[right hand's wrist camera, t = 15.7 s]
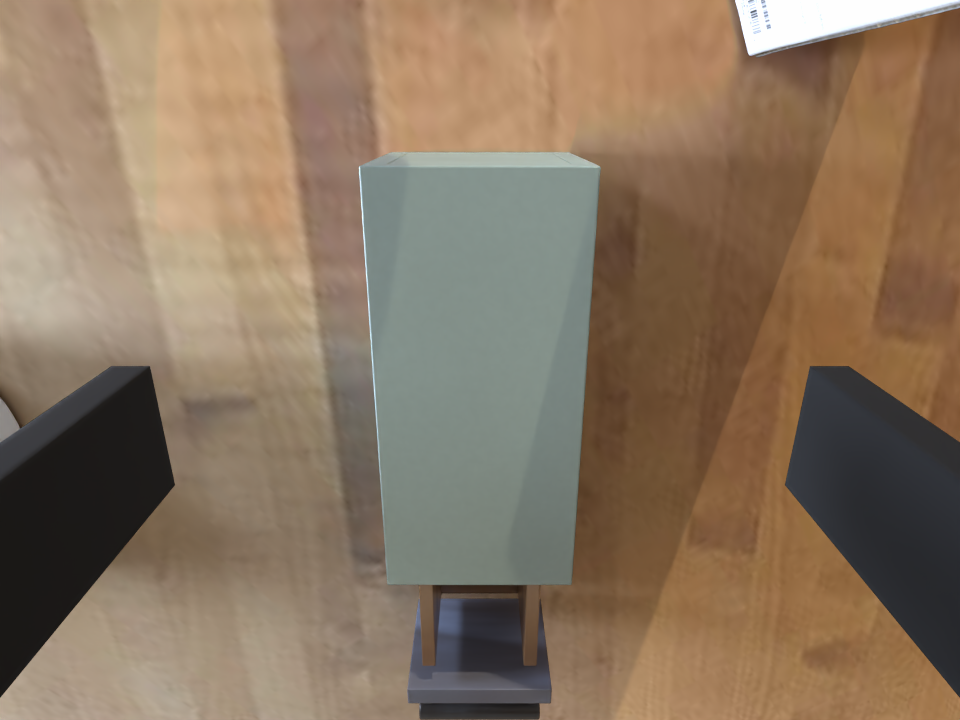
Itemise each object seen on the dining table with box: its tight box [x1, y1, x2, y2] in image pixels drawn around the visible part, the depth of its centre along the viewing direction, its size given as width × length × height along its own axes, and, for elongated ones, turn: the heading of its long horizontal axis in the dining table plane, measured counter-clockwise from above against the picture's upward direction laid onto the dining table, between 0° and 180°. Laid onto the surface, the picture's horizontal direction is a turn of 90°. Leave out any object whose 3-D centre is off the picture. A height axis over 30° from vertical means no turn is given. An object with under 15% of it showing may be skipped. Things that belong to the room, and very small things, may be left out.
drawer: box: [407, 585, 552, 720], centre depth 40 cm, size 26×9×8 cm, turn 0°
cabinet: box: [359, 152, 600, 585], centre depth 35 cm, size 22×10×10 cm, turn 0°
